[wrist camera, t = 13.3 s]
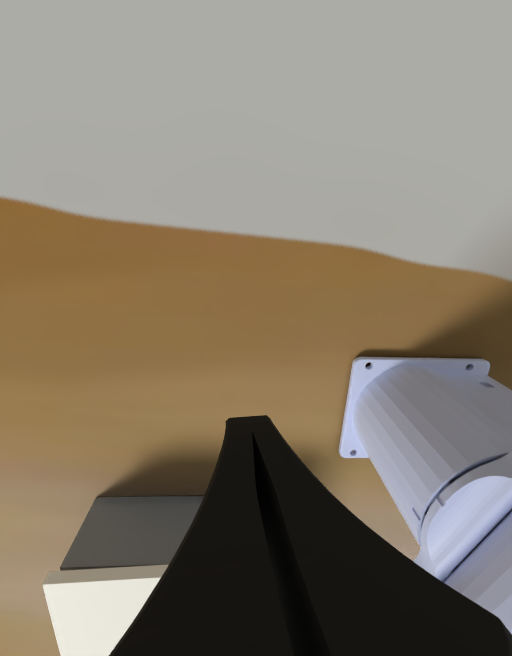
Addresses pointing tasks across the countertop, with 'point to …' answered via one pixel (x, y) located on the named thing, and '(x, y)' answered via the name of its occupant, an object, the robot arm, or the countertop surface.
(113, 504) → the box
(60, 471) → the countertop surface
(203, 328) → the countertop surface
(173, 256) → the countertop surface
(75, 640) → the lid
